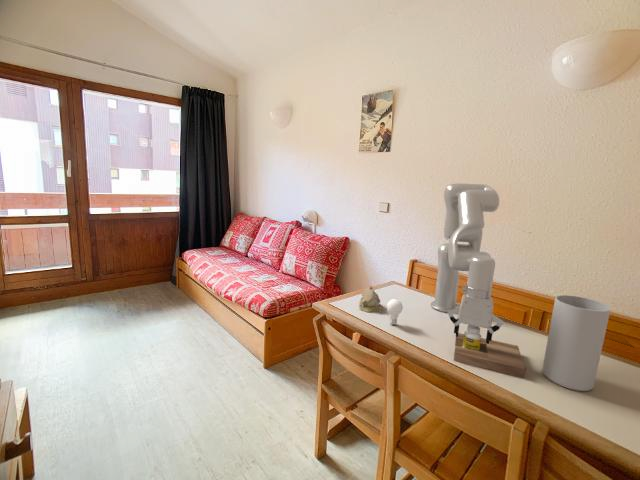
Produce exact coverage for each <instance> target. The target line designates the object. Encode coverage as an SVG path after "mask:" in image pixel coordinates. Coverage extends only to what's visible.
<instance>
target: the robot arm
mask: <svg viewBox="0 0 640 480" xmlns="http://www.w3.org/2000/svg"><path fill="white" fill-rule="evenodd" d="M443 198H444V203H445V211H446V212H445V221H444V229H443V237H444V239H445V240H446V241H448V242H446V243H443V244H440V245H439V247H437V248H438V249H437V264H438V265H437V275H436V276H437V277H436V284H435V295H434V300H433V301H432V302H430V307H431V308H432V309H433V310H436V311H437V312H441V313H447V315H448V317H449V320H450V321H451V322H452V324H453V325H454V329H453V334H455V338H456V337H458V333H460V332H459V330H460V324H464V325H467V326H468V325H473V326H477V327H479V328H482V329H483V328H484V329H487V330H486V331H487V332H486V335H485V337H486V338H485V339H486V343H487V344H489V341H491V340H493V334H494V333H495V332H497V331H499V330H500V329H501V328H502V327H503V326H504V324H505V323H504V321H503V320H502V319H501V318H499V317H498V316H496V315H494V314H493V313H494V300H493V298H492V296H491V295H492V287H493V281H494V275H495V268H496V260H495V259H494V258H493V257H492V256H491V254H490V253H489V252H487V251H481V248H482V247H481V245H482V240H483V229H484V228H485V218H484V213H486V212H487V213H495V212H496V211H497V210H498V208H499V206H500V196H499V194H498V192H497V191H496V190H495V189H494V188H492V187H491V186H490V185H488V184H484V183H483V184H481V183H459V182H458V183H457V182H456V183H450V184H448V185H446V187H445V189H444V193H443ZM458 242H460V243H458ZM464 243H468V244H464ZM459 272H468V274H467V279H466V281H467V282H466V285H465V286H462V285H461V291H464V292H463V294H462V296H461V301H460V304H459V306H458V305H457V298H458V297H457V296H458V290H459V280H460V273H459ZM455 314H458V317H457V318H456V317H455V316H454V315H455ZM493 321H495V323H496V324H495V325H492V322H493Z"/></svg>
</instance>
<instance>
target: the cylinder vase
mask: <svg viewBox="0 0 640 480" xmlns="http://www.w3.org/2000/svg"><path fill="white" fill-rule="evenodd" d="M610 315H611V307H610V306H609V305H607V304H606V303H603V302H600V301H597V300H594V299H590V298H586V297H581V296H576V295H569V294H568V295H566V294H559V295H556V296H555V298H554V304H553V308H552V314H551V319H550V324H549V329H548V330H549V331H548V335H547V342H546V345H545V346H546V347H545V353H544V358H543V364H542V368H541V369H542V371H541V372H543V374H544V376H545V377H546V378H547V379H549V381H552V382H553V383H555V384H557V385H559V386H560V387H563V388H566V389H569V390H573V391H578V392H587V391H591V390H593V389H594V386H595V383H596V377H597V373H598V368H599V363H600V359H601V356H602V350H603V345H604V341H605V337H606V332H607V327H608V324H609V323H608V322H609V320H610V319H609V318H610Z"/></svg>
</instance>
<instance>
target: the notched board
mask: <svg viewBox="0 0 640 480" xmlns="http://www.w3.org/2000/svg"><path fill="white" fill-rule="evenodd" d="M463 339H464V333H461V332H458V337H456V336H455V341H454V352H453V353H454V354H453V361H454V362H459V363H463V364H466V365H471V366H474V367H478V368H483V369H486V370H491V371H494V372H497V373H498V372H499V373H502V374H506V375H510V376H515V377H518V378H522V379H524V378H525V375H526V374H525V373H526V367H525V363H524V360H523V356H522V354H521V351H520V347H519V346H518V345H517V344H512V343H507V342H502V341H498V340H493V339H492V340H491V341H489V344H487V343H486V338H484V337H481V343H480V349H479V351H476V350H471V349H467V348H463V347H462V346H463Z"/></svg>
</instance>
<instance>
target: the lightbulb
mask: <svg viewBox="0 0 640 480" xmlns="http://www.w3.org/2000/svg"><path fill="white" fill-rule="evenodd" d="M403 309H404V306H403V304H402V302H401V301H400V300H399V299H397V298H392V299H390V300H389V301H388V302H387V304H386V310H387V311H388V313H389V318H390V319H389V320H390V321H389V323H390V324H391V325H392V326H394V325H397V323H398V318H399V316H400V314H401V313H402V311H403Z"/></svg>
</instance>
